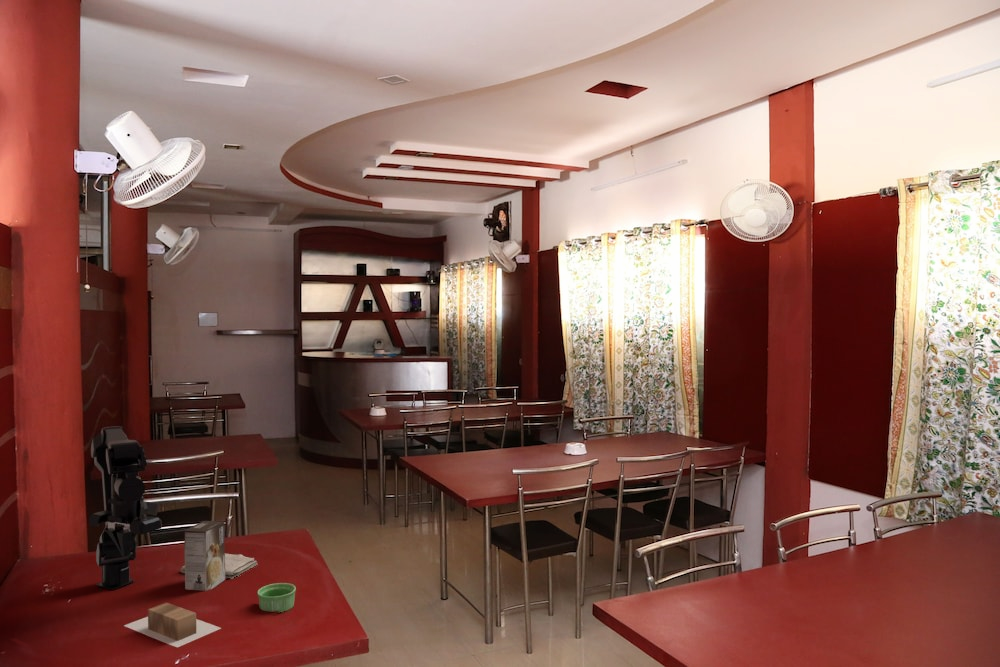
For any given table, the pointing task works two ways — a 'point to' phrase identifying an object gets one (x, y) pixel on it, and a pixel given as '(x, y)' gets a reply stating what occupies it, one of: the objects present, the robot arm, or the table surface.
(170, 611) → the walnut block
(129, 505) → the robot arm
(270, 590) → the ramekin
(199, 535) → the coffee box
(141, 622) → the mat
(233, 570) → the washcloth
